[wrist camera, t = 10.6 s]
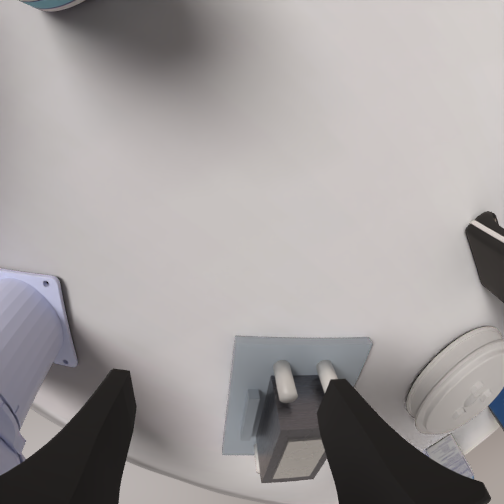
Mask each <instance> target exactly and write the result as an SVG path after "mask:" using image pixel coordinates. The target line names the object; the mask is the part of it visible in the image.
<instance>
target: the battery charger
mask: <svg viewBox="0 0 504 504" xmlns="http://www.w3.org/2000/svg"><path fill="white" fill-rule="evenodd" d="M469 224H470V225H469V226H468V227H467V228H466V233H467V237H468V240H469V243H470V246H471V249H472V253H473V256H474V259H475V263H476V266H477V269H478V273H479V276H480V280H481V283H482V285H483V286H484V287H486V288H487V289H488V290H489V291H491V292H492V293H493V294H494V295H495V296H496V297H498V298H499V299H500V300H501V301H502V302H503V303H504V229H503V228H502V227H500V226H499V224H498V220H497V218H496V215H495V214H494V213H492V212H489V211H487V212H484V213H482V214H481V215H479V216H478V217H477V218H476V219H475V220H472V221H471V222H470V223H469Z"/></svg>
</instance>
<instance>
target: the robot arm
mask: <svg viewBox="0 0 504 504" xmlns="http://www.w3.org/2000/svg"><path fill="white" fill-rule="evenodd" d="M46 281H47V282H48V283H49V284H47V283H46ZM66 360H67V361H66ZM52 363H55V364H60V365H64V366H69V367H76V366H77V364H78V360H77V356H76V352H75V349H74V345H73V341H72V337H71V333H70V329H69V324H68V320H67V315H66V311H65V306H64V301H63V296H62V290H61V285H60V281H59V279H58V278H57V277H55V276H51V275H44V274H36V273H29V272H22V271H15V270H8V269H2V268H0V504H118V502H119V491H120V484H121V478H122V474H123V470H124V465H125V462H126V458H127V453H128V449H129V445H130V441H131V437H132V433H133V428H134V421H135V414H136V402H135V397H134V392H133V387H132V381H131V376H130V371H127V370H120V369H112V370H111V371H110V372H109V374H108V375H107V377H106V378H105V379H104V381H103V382H102V383H101V385H100V386H99V387H98V389H97V390H96V391H95V392H94V394H93V395H92V396H91V397H90V399H89V400H88V401H87V402H86V403H85V405H84V406H83V407H82V408H81V409H80V411H79V412H78V413H77V414H76V415H75V416H74V417H73V418H72V419H71V420H70V422H69V423H68V424H67V425H66V426H65V427H64V428H63V429H62V430H61V431H60V432H59V433H58V434H57V435H56V436H55V437H54V438H52V440H50V441H49V442H48V443H47V444H46V445H44V446H43V447H42V448H41V449H39V450H38V451H37V452H36V453H35V454H33V455H32V456H30V457H29V458H28V459H25V457H24V456H23V455H22V453H21V452H22V449H23V447H24V445H25V442H26V440H25V439H24V438H23V437H22V435H21V434H20V432H19V431H20V428H21V426H22V424H23V422H24V420H25V417H26V415H27V413H28V411H29V409H30V407H31V405H32V403H33V401H34V399H35V396H36V394H37V392H38V390H39V388H40V386H41V384H42V383H43V381H44V379H45V377H46V375H47V373H48V371H49V369H50V367H51V365H52ZM317 418H318V425H319V431H320V436H321V440H322V443H323V446H324V449H325V453H326V456H327V459H328V462H329V465H330V469H331V472H332V475H333V478H334V481H335V485H336V489H337V495H338V500H339V504H487V503H489V502H490V500H491V497H490V495H489V493H488V491H487V489H486V488H485V485H484V484H483V483H482V482H480V481H477V480H474V479H471V478H469V477H466V476H463V475H461V474H459V473H457V472H455V471H452V470H450V469H448V468H446V467H445V466H443V465H441V464H439V463H437V462H436V461H434V460H433V459H431V458H429V457H428V456H426V455H425V454H423V453H422V452H420V451H419V450H418V449H416V448H415V447H414V446H412V445H411V444H410V443H408V442H407V441H406V440H405V439H403V438H402V437H401V436H400V435H399V434H398V433H397V432H396V431H394V430H393V429H392V428H391V427H390V426H389V425H388V424H387V423H386V422H385V421H384V420H383V419H382V418H381V417H380V416H379V415H378V414H377V413H376V412H375V411H374V410H373V409H372V408H371V406H370V405H369V404H368V403H367V402H366V401H365V400H364V399H363V398H362V397H361V395H360V394H359V393H358V392H357V391H356V390H355V389H354V388H353V386H352V385H351V384H350V383H349V382H348V381H347V380H346V379H331V380H330V382H329V385H328V387H327V390H326V392H325V394H324V397H323V399H322V402H321V404H320V406H319V409H318V411H317Z"/></svg>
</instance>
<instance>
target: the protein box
mask: <svg viewBox="0 0 504 504" xmlns="http://www.w3.org/2000/svg"><path fill="white" fill-rule="evenodd" d="M488 407H489V408H490V410H491V412H492V414H493V415H494V417H495V419H496V420H497V422H498V423H499V425H500V426H501V428H502V429H503V431H504V387H503V389H502V390H501V392H500V393H499V394H498V395H497V397H496V398H495V399H494V400H493V401H492V402H491V403H490V404H489V405H488Z"/></svg>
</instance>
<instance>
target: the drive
mask: <svg viewBox="0 0 504 504" xmlns="http://www.w3.org/2000/svg"><path fill="white" fill-rule="evenodd" d="M293 379H294V383H295V387H296V391H297V394H298V397H297V399H296V400H295V401H293V402H290V403H283V402H281V401H280V400H279V395H278V390H277V385H276V380H275V376H273V375H271V377H270V381H269V385H268V389H267V394H266V398H265V402H264V406H263V410H262V414H261V418H260V422H259V426H258V430H257V434H256V443H257V452H258V460H259V468H260V476H261V483H272V482H287V481H299V480H308V479H314V477H315V476H316V474H317V473H318V471H319V470H320V468H321V467H322V465H323V463H324V462H325V460H326V459H327V456H326V453H325V449H324V446H323V443H322V440H321V436H320V431H319V425H318V418H317V411H318V409H319V406H320V404H321V402H322V399H323V397H324V394H325V393H324V390H323V387H322V384H321V381H320V378H319V376H318V375H293Z"/></svg>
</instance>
